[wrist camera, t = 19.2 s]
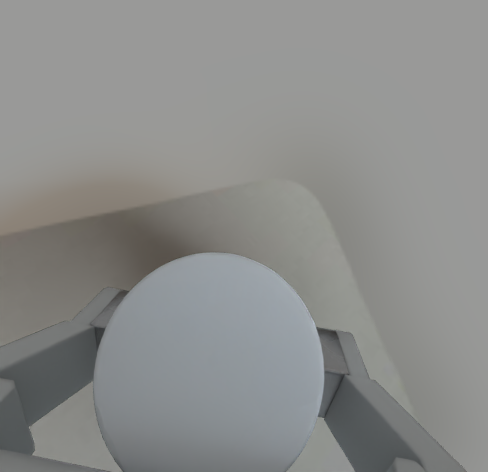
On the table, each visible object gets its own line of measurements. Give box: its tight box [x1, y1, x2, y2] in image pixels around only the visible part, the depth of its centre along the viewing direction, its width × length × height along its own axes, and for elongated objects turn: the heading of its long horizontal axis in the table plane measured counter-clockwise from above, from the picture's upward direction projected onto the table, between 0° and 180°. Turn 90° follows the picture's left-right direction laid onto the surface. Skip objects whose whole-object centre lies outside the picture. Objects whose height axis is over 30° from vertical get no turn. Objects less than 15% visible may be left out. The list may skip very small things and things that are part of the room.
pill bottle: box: [93, 252, 324, 472], centre depth 8 cm, size 5×5×8 cm
